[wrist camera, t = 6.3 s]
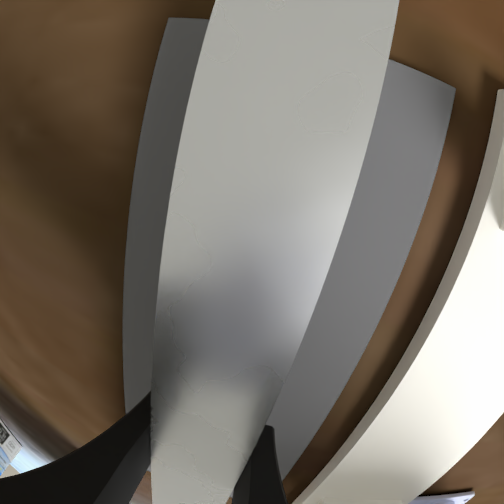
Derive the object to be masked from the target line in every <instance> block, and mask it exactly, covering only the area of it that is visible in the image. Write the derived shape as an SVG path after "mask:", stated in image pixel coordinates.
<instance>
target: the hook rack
mask: <svg viewBox="0 0 504 504" xmlns="http://www.w3.org/2000/svg"><path fill="white" fill-rule="evenodd" d="M503 412H504V89H499V90H498V92H497V98H496V104H495V110H494V116H493V121H492V126H491V131H490V136H489V140H488V145H487V149H486V153H485V157H484V161H483V165H482V169H481V172H480V176H479V179H478V183H477V186H476V190H475V193H474V196H473V199H472V202H471V206H470V209H469V212H468V215H467V217H466V220H465V223H464V226H463V229H462V231H461V234H460V237H459V239H458V242H457V245H456V247H455V250H454V252H453V255H452V257H451V260H450V262H449V264H448V267H447V269H446V271H445V274H444V276H443V278H442V280H441V283H440V285H439V287H438V289H437V291H436V294H435V296H434V298H433V300H432V302H431V304H430V306H429V308H428V310H427V312H426V314H425V316H424V318H423V320H422V322H421V324H420V326H419V328H418V330H417V331H416V333H415V335H414V337H413V339H412V341H411V342H410V344H409V346H408V348H407V349H406V351H405V353H404V355H403V356H402V358H401V360H400V362H399V363H398V365H397V367H396V368H395V370H394V372H393V373H392V375H391V376H390V378H389V380H388V381H387V383H386V384H385V386H384V387H383V389H382V391H381V392H380V394H379V395H378V397H377V398H376V400H375V401H374V403H373V404H372V405H371V407H370V408H369V410H368V411H367V413H366V414H365V416H364V417H363V418H362V420H361V421H360V423H359V424H358V425H357V427H356V428H355V429H354V431H353V432H352V433H351V435H350V436H349V437H348V439H347V440H346V441H345V443H344V444H343V445H342V446H341V448H340V449H339V450H338V451H337V453H336V454H335V455H334V456H333V458H332V459H331V460H330V461H329V462H328V464H327V465H326V466H325V467H324V468H323V470H322V471H321V472H320V473H319V474H318V475H317V477H316V478H315V479H314V480H313V481H312V482H311V483H310V484H309V486H308V487H307V488H306V489H305V490H304V491H303V492H302V493H301V494H300V495H299V496H298V497H297V498H296V500H295V501H294V502H293V503H292V504H408V503H410V502H411V501H412V500H414V499H415V498H416V497H417V496H419V495H420V494H421V493H422V492H424V491H425V490H426V489H427V488H429V487H430V486H431V485H432V484H433V483H435V482H436V481H437V480H438V479H439V478H440V477H441V476H443V475H444V474H445V473H446V472H447V471H448V470H449V469H450V468H451V467H452V466H454V465H455V464H456V463H457V462H458V461H459V460H460V459H461V458H462V457H463V456H464V455H465V454H466V453H467V452H468V451H469V450H470V449H471V448H472V447H473V446H474V445H475V444H476V443H477V442H478V441H479V440H480V438H481V437H482V436H483V435H484V434H485V433H486V432H487V431H488V430H489V429H490V427H491V426H492V425H493V424H494V423H495V422H496V420H497V419H498V418H499V417H500V416H501V415H502V413H503Z"/></svg>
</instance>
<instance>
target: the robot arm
mask: <svg viewBox="0 0 504 504" xmlns="http://www.w3.org/2000/svg"><path fill="white" fill-rule="evenodd" d="M150 464H151V391H150V392H149V393H148V394H147V395H146V396H145V397H144V398H143V399H142V400H141V401H140V402H139V403H138V404H137V405H136V406H135V407H134V408H133V409H131V410H130V411H129V412H128V413H127V414H126V415H125V416H123V417H122V418H121V419H120V420H119V421H117V422H116V423H115V424H114V425H112V426H111V427H110V428H109V429H107V430H106V431H104V432H103V433H102V434H100V435H99V436H97V437H96V438H95V439H93V440H92V441H90V442H89V443H87V444H85V445H84V446H82V447H81V448H79V449H77V450H75V451H73V452H72V453H70V454H68V455H66V456H64V457H62V458H60V459H58V460H56V461H54V462H51V463H49V464H47V465H44V466H42V467H39V468H36V469H33V470H30V471H27V472H24V473H21V474H18V475H14V476H10V477H5V478H0V504H129V502H130V500H131V498H132V496H133V494H134V492H135V490H136V489H137V487H138V485H139V483H140V481H141V480H142V478H143V476H144V474H145V473H146V471H147V469H148V467H149V465H150ZM474 495H475V493H474V491H471V492H464V493H456V494H447V495H437V496H423V497H416V498H415V499H414V500H412V501H411V502H410V503H408V504H464V503H466V502H467V501H468V500H469V499H471V498H472V497H473V496H474ZM232 504H288V502H287V499H286V495H285V492H284V488H283V484H282V479H281V475H280V470H279V465H278V459H277V453H276V445H275V429H274V428H273V426H269V425H265V427H264V429H263V431H262V433H261V435H260V437H259V439H258V441H257V443H256V445H255V447H254V449H253V452H252V454H251V456H250V458H249V460H248V462H247V464H246V466H245V468H244V469H243V471H242V473H241V475H240V477H239V479H238V481H237V483H236V485H235V487H234V491H233V498H232Z"/></svg>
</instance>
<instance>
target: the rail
mask: <svg viewBox="0 0 504 504" xmlns="http://www.w3.org/2000/svg"><path fill="white" fill-rule="evenodd" d="M398 4H399V0H216V1H215V4H214V7H213V10H212V14H211V17H210V20H209V24H208V27H207V31H206V34H205V38H204V41H203V45H202V49H201V52H200V56H199V60H198V64H197V68H196V72H195V76H194V80H193V84H192V88H191V92H190V97H189V101H188V105H187V110H186V114H185V119H184V124H183V129H182V133H181V138H180V143H179V148H178V154H177V159H176V164H175V170H174V176H173V181H172V187H171V193H170V200H169V206H168V213H167V219H166V226H165V234H164V241H163V249H162V257H161V265H160V274H159V284H158V294H157V304H156V316H155V329H154V343H153V360H152V382H151V482H152V502H153V504H226V502H227V500H228V498H229V496H230V494H231V492H232V491H233V489H234V487H235V485H236V483H237V481H238V479H239V477H240V475H241V473H242V471H243V469H244V468H245V466H246V464H247V462H248V460H249V458H250V456H251V454H252V452H253V449H254V447H255V445H256V443H257V441H258V439H259V437H260V435H261V433H262V431H263V429H264V427H265V424H266V422H267V420H268V418H269V416H270V414H271V411H272V409H273V407H274V405H275V403H276V400H277V398H278V396H279V394H280V391H281V389H282V387H283V385H284V382H285V380H286V378H287V375H288V373H289V371H290V368H291V366H292V364H293V361H294V359H295V356H296V354H297V351H298V349H299V347H300V344H301V342H302V339H303V337H304V334H305V332H306V329H307V327H308V324H309V321H310V319H311V316H312V314H313V311H314V308H315V306H316V303H317V300H318V298H319V295H320V292H321V290H322V287H323V284H324V282H325V279H326V276H327V273H328V270H329V268H330V265H331V262H332V259H333V256H334V253H335V250H336V247H337V244H338V241H339V238H340V235H341V232H342V229H343V226H344V223H345V220H346V217H347V214H348V211H349V207H350V204H351V201H352V198H353V194H354V191H355V188H356V185H357V181H358V178H359V174H360V171H361V167H362V164H363V160H364V157H365V153H366V150H367V146H368V142H369V138H370V135H371V131H372V127H373V123H374V119H375V115H376V111H377V107H378V103H379V99H380V95H381V90H382V86H383V82H384V77H385V73H386V68H387V63H388V58H389V54H390V49H391V44H392V38H393V33H394V28H395V22H396V16H397V10H398Z"/></svg>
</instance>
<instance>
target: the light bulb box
mask: <svg viewBox="0 0 504 504" xmlns="http://www.w3.org/2000/svg"><path fill="white" fill-rule="evenodd" d="M21 449H22V446H21V445H20V444H19V442H18V441H17V440H16V439H15V438H14V436H13V435H12V434H11V432H10V431H9V430H8V429H7V427H6V426H5V425H4V423H3V422H2V421H1V419H0V476H1V474H2V473H3V472H4V471H5V469H6V468H7V467H8V465H9V464H10V463H11V461H12V460H13V459H14V458H15V456H16V455H17V454H18V453H19V451H20V450H21Z"/></svg>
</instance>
